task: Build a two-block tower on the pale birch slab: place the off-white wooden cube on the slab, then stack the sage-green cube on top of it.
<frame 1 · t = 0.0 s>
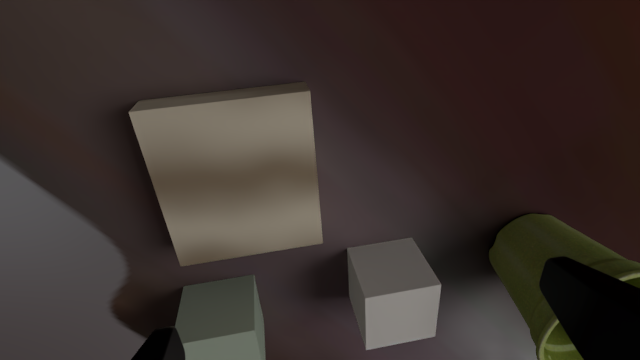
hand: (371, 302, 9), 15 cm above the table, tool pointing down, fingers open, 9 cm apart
plant pot: (520, 241, 30), on the table
white block: (379, 267, 29), on the table
sage block: (225, 303, 28), on the table
slab: (240, 171, 23), on the table
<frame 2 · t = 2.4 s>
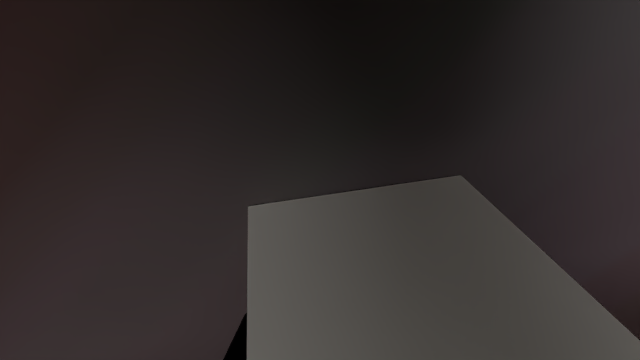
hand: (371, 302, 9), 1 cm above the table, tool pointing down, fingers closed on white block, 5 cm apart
white block: (359, 271, 10), on the table, touching gripper
when the fingers open (4 cm above the table, at t = 6.2 s): white block stays where it is, resting on slab.
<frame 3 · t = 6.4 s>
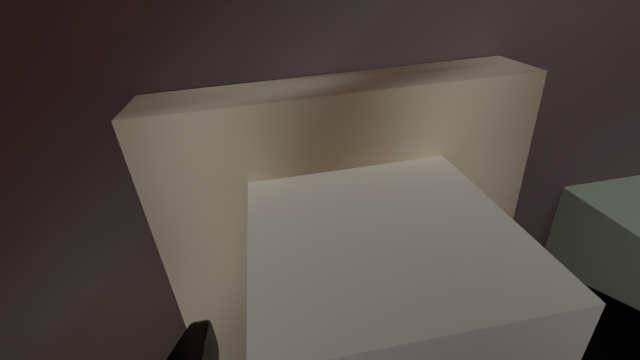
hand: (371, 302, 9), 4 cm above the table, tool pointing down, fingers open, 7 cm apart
white block: (350, 247, 10), point 2 cm above the table, touching slab
sage block: (601, 230, 15), on the table
slab: (335, 211, 12), on the table
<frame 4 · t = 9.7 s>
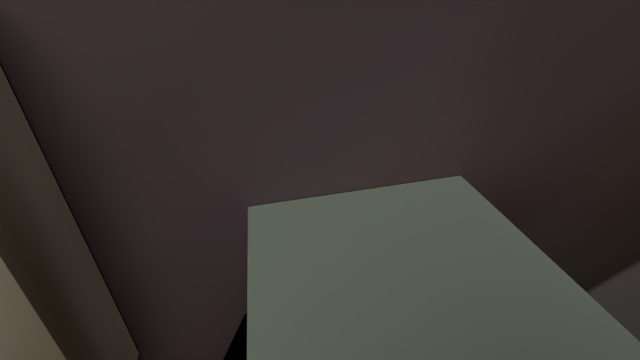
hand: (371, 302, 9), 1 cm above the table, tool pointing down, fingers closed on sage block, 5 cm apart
sage block: (359, 272, 10), on the table, touching gripper
when the fingers open (9 cm above the table, at t = 12.6 s): sage block stays where it is, resting on white block.
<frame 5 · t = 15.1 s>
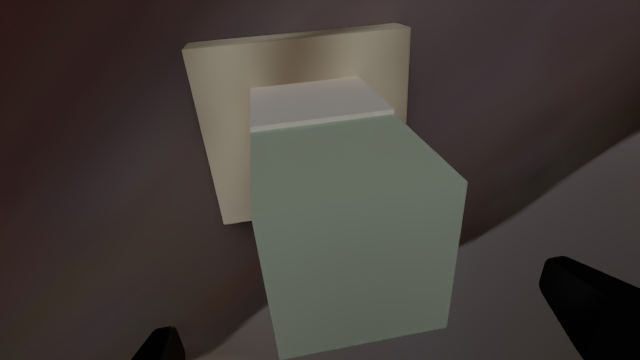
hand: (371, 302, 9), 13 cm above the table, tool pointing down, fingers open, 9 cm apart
white block: (309, 133, 18), point 2 cm above the table, touching sage block, slab
sage block: (328, 185, 14), point 7 cm above the table, touching white block
slab: (303, 121, 20), on the table
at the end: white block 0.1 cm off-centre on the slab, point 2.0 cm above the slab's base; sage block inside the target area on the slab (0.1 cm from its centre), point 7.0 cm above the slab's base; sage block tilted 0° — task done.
